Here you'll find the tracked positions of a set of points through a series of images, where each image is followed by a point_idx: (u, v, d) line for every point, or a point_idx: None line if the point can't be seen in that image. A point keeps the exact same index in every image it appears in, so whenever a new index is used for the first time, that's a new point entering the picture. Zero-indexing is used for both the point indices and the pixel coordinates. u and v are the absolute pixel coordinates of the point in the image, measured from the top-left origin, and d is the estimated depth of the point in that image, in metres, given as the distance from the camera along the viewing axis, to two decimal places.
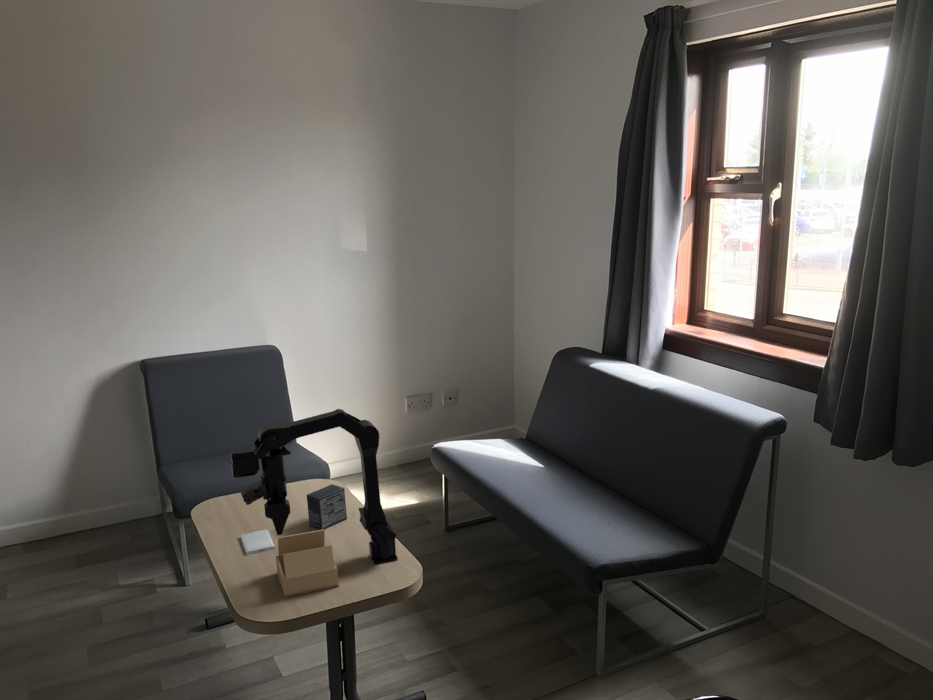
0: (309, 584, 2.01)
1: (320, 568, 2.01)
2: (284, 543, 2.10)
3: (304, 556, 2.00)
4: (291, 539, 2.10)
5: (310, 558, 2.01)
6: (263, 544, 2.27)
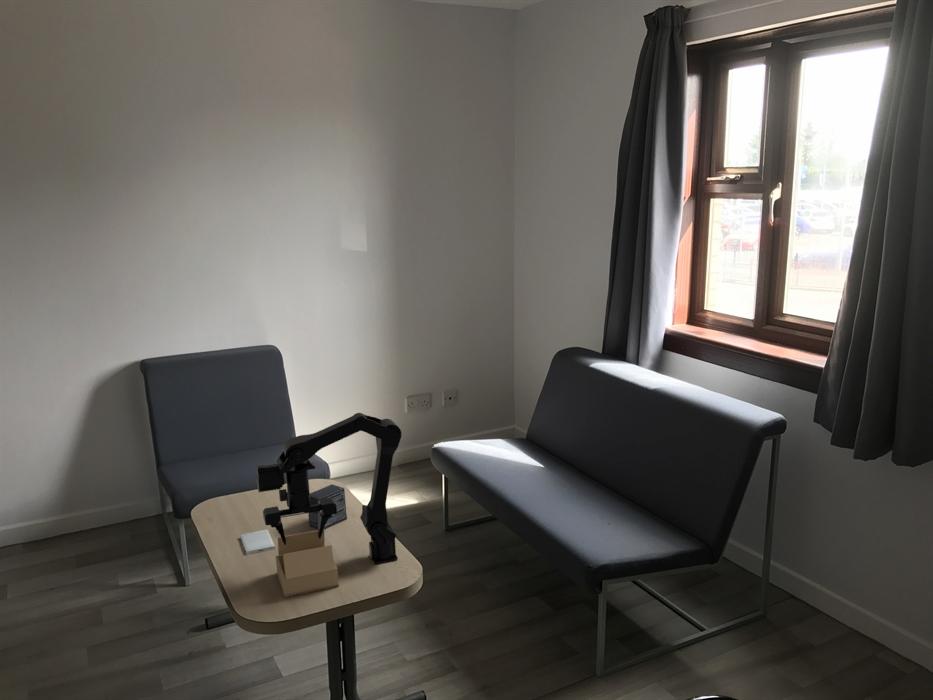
0: (309, 584, 2.01)
1: (320, 568, 2.01)
2: None
3: (304, 556, 2.00)
4: (291, 539, 2.10)
5: (310, 558, 2.01)
6: (263, 544, 2.27)
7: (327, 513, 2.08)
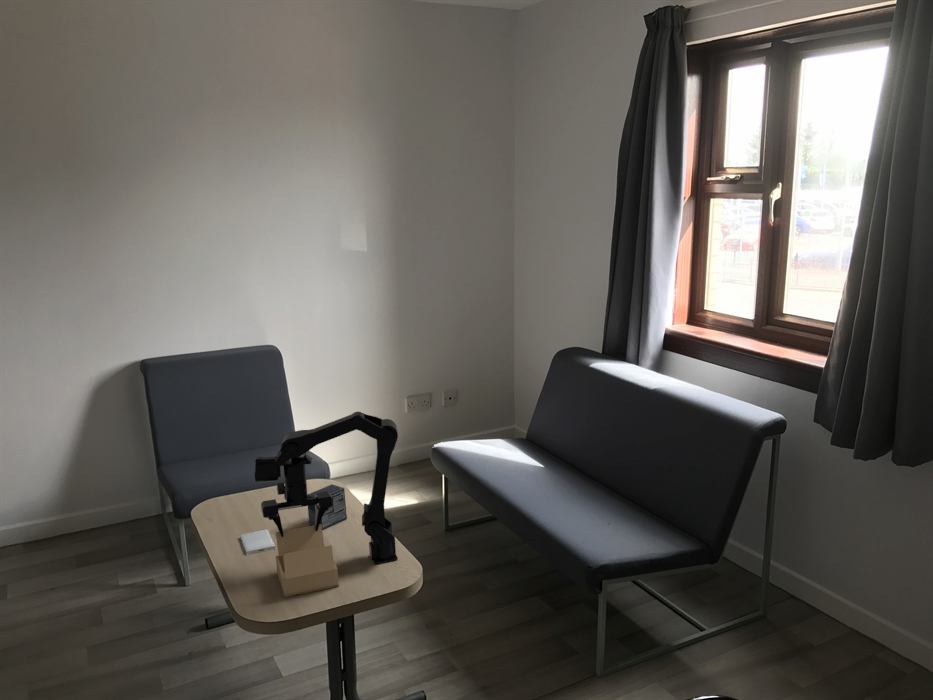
0: (309, 584, 2.01)
1: (320, 568, 2.01)
2: (283, 539, 2.13)
3: (304, 556, 2.00)
4: (289, 534, 2.13)
5: (310, 558, 2.01)
6: (263, 544, 2.27)
7: (324, 506, 2.12)
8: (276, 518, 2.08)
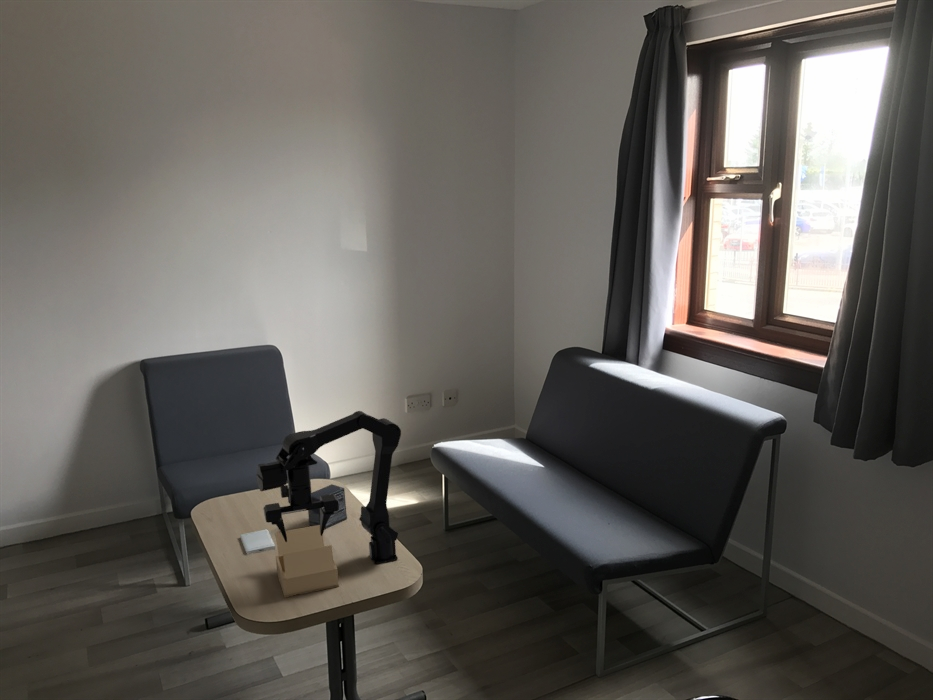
0: (309, 584, 2.01)
1: (320, 568, 2.01)
2: (283, 539, 2.13)
3: (304, 556, 2.00)
4: (289, 534, 2.14)
5: (310, 558, 2.01)
6: (263, 544, 2.27)
7: (329, 510, 2.03)
8: (279, 523, 2.00)
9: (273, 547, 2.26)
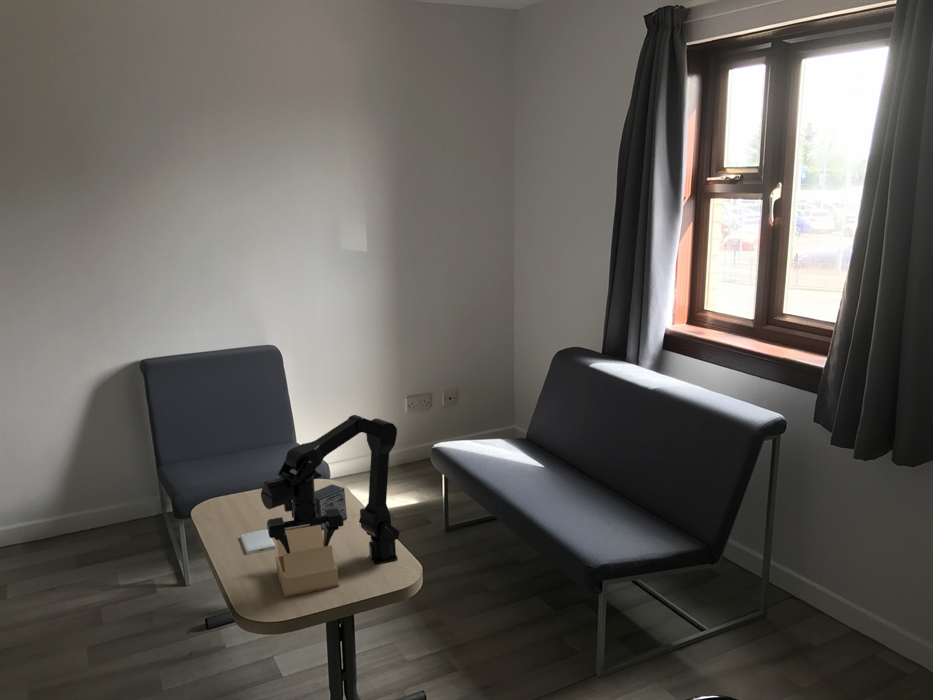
0: (309, 584, 2.01)
1: (320, 568, 2.01)
2: None
3: (304, 556, 2.00)
4: (289, 534, 2.14)
5: (310, 559, 2.00)
6: (263, 544, 2.27)
7: (333, 525, 2.00)
8: (283, 538, 1.96)
9: (273, 547, 2.26)
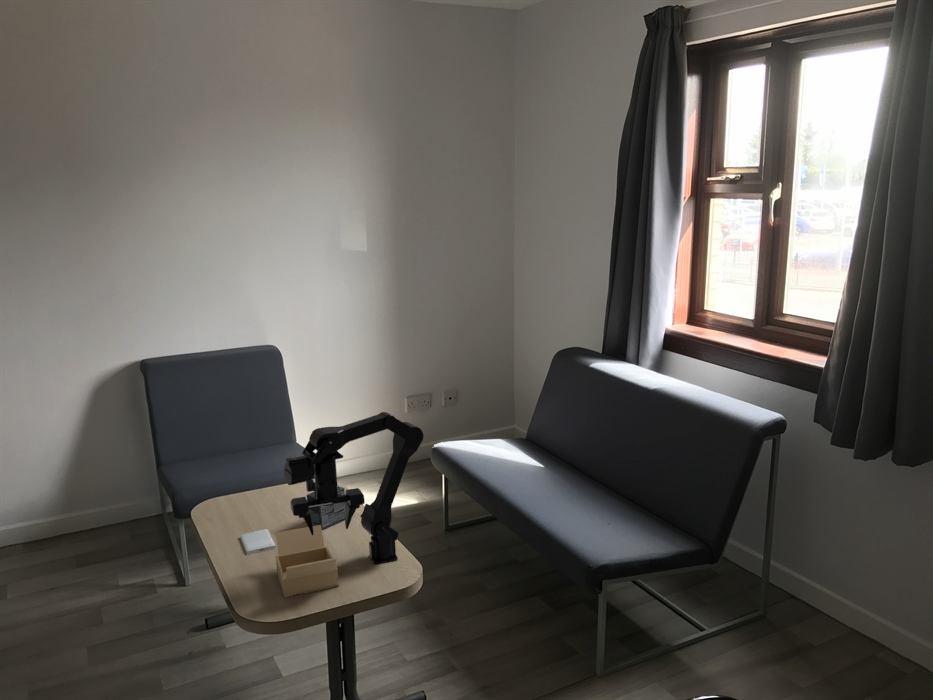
0: (309, 584, 2.01)
1: (321, 571, 2.00)
2: (283, 539, 2.13)
3: (307, 567, 1.96)
4: (289, 534, 2.14)
5: (313, 568, 1.98)
6: (263, 544, 2.27)
7: (355, 504, 2.06)
8: (306, 516, 2.03)
9: (273, 547, 2.26)
